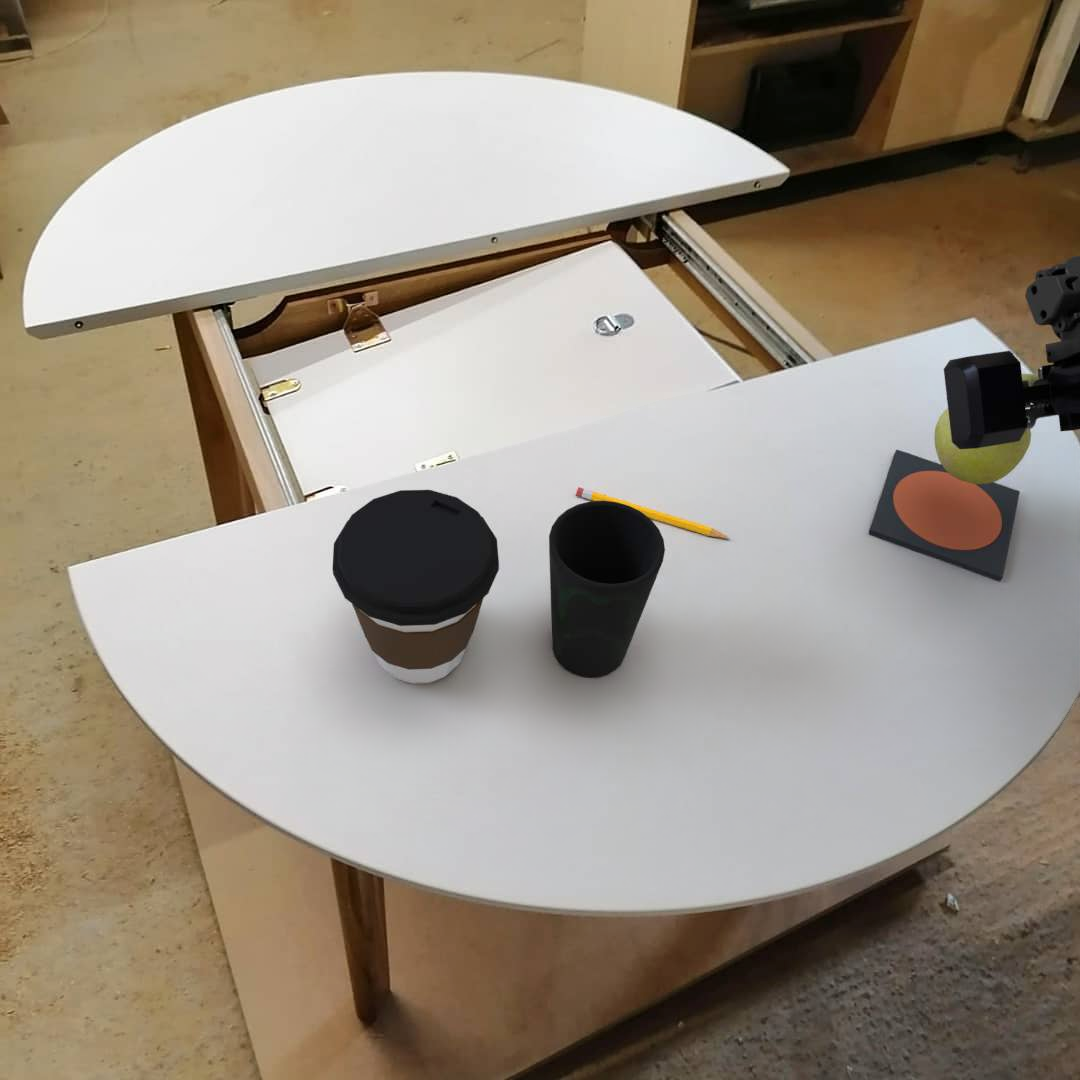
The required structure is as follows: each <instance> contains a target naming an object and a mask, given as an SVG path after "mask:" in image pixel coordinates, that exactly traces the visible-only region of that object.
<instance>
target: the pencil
mask: <svg viewBox="0 0 1080 1080" xmlns="http://www.w3.org/2000/svg"><path fill="white" fill-rule="evenodd" d="M575 495H576V496H577V497H579V498H582V499H586V500H589V501H612V502H618V503H621V504H625V505H628V506H631V507H633V508H635V509H637V510H638V511H640V512H642V513H643V514H645V515H646V516H647V517H648V518H650V519H651V520H654V521H658V522H661V523H664V524H667V525H670V526H674V527H677V528H680V529H684V530H688V531H690V532H694V533H697V534H699V535H704V536H707V537H712V538H720V539H731V537H730V536H728V535H726V534H725V533H723V532H721V531H719V530H717V529H715V528H713V527H711V526H707V525H705V524H701V523H698V522H696V521H692V520H688V519H684V518H682V517H678V516H675V515H672V514H669V513H665V512H662V511H658V510H656V509H651V508H649V507H645V506H641V505H638V504H635V503H633V502H629V501H626V500H623V499H619V498H616V497H612V496H610V495H606V494H603V493H601V492H596V491H594V490H591V489H587V488H583V487H579V486H578V487H577V489H576V492H575Z"/></svg>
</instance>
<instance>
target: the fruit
mask: <svg viewBox="0 0 1080 1080" xmlns="http://www.w3.org/2000/svg"><path fill="white" fill-rule="evenodd" d="M1038 379H1039V377H1038V372H1035V373H1022V381H1024V380H1028V384H1029V386H1032V385H1033V383H1034V382H1035V381H1036V380H1038ZM1031 440H1032V433H1031V429H1029V430H1026V431H1025V432H1024V434H1023V436H1022V438H1021V439H1020V441H1018V442H1012V443H1006V444H1000V445H994V446H988V447H982V448H974V449H959V448H958V447H957V446H955V445H954V444H953V443H952V438H951V429H950V421H949V412H948V407H947V408H946V409H945V410H943V412H942V413H941V415H940V416H939V418H938V419H937V422H936V424H935V428H934V447H935V452H936V455H937V459H938V461H939V464H941V465H942V466H943V467H944V468H945V470H946V471H947V472H948V473H949V474H950V475H952V476H954V477H955V478H957V479H959V480H962V481H965V482H969V483H973V484H988V483H992V482H994V483H996V482H997V481H999V480H1001V479H1003V478H1005V477H1006V476H1008V475H1009V474H1010V473H1011V472H1012V471H1013V470H1014V469H1015V468H1016V467H1018V465H1019V464H1020V463H1021V461H1023V459H1024V457H1025V455H1026V453H1027V451H1028V449H1029V447H1030V445H1031Z"/></svg>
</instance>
